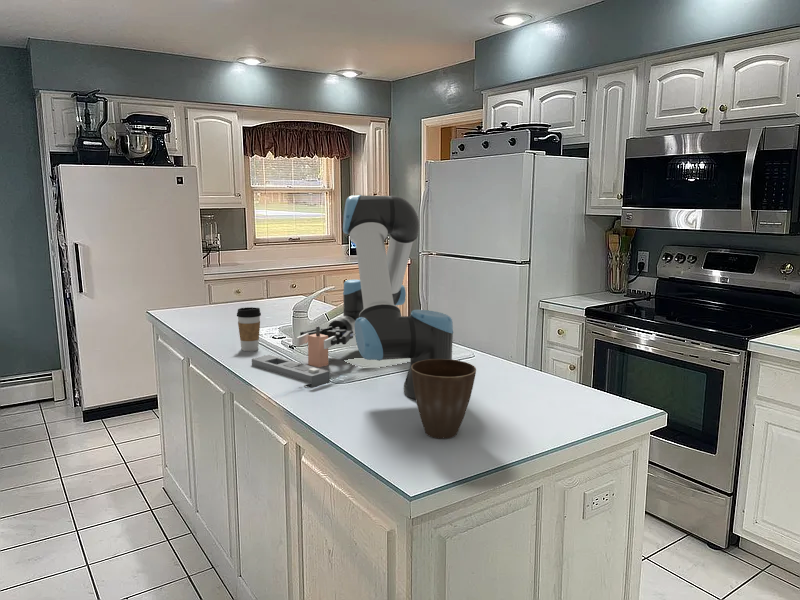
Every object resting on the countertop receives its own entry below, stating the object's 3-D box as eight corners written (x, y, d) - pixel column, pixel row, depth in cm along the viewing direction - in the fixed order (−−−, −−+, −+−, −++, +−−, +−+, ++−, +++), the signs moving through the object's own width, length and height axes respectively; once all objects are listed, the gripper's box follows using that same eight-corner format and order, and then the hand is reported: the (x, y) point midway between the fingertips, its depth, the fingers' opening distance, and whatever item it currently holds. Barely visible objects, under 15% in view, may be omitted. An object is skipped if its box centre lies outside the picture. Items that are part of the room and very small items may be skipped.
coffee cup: (248, 353, 213) (246, 311, 211) (232, 349, 218) (231, 308, 216) (266, 348, 220) (265, 307, 217) (251, 345, 225) (250, 305, 222)
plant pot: (468, 421, 151) (471, 358, 148) (478, 445, 136) (481, 376, 134) (408, 421, 151) (409, 358, 148) (411, 445, 136) (413, 376, 133)
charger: (328, 369, 195) (328, 326, 193) (319, 372, 192) (318, 328, 190) (317, 366, 198) (317, 324, 196) (308, 369, 195) (307, 326, 193)
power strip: (329, 382, 181) (329, 368, 180) (311, 388, 176) (311, 373, 175) (269, 365, 199) (269, 352, 198) (251, 369, 193) (251, 356, 193)
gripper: (371, 342, 207) (342, 358, 186) (314, 336, 214) (280, 351, 193) (371, 320, 206) (342, 334, 185) (314, 315, 213) (280, 328, 192)
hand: (311, 343), depth 189 cm, fingers open, 9 cm apart
